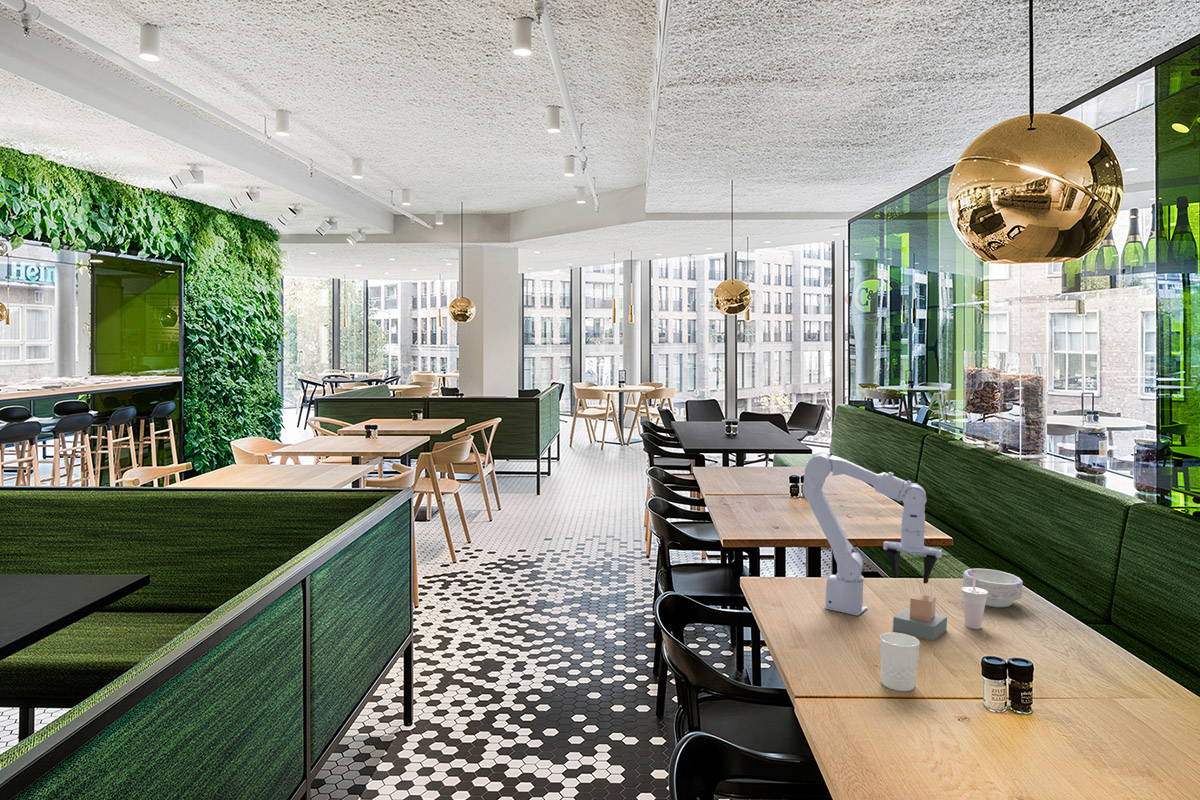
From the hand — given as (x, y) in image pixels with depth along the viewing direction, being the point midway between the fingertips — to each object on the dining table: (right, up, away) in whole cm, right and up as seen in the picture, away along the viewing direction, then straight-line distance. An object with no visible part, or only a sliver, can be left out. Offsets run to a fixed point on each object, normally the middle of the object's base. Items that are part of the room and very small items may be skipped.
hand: (910, 579), depth 204 cm
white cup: (-20, -13, -41) cm, 47 cm away
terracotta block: (-1, -7, -9) cm, 12 cm away
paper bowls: (+29, -10, +15) cm, 34 cm away
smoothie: (+14, -11, -5) cm, 19 cm away
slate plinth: (-1, -11, -9) cm, 14 cm away
